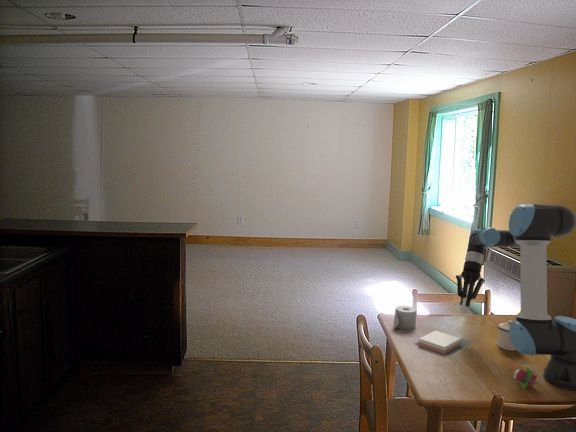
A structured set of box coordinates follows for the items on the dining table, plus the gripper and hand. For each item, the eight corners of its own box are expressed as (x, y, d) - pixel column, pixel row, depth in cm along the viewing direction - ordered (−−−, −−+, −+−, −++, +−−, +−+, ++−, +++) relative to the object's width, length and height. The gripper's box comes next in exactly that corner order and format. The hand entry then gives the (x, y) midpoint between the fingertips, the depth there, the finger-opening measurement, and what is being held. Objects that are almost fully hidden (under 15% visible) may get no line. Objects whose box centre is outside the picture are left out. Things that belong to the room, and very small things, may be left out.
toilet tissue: (390, 330, 229) (391, 312, 228) (398, 321, 241) (399, 304, 240) (410, 334, 225) (411, 316, 224) (417, 325, 237) (418, 308, 235)
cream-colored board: (435, 330, 221) (418, 338, 211) (461, 338, 212) (444, 346, 203) (435, 337, 221) (418, 345, 211) (460, 345, 213) (444, 353, 203)
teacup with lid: (519, 352, 207) (521, 326, 205) (495, 348, 211) (497, 322, 209) (519, 343, 218) (521, 317, 216) (497, 339, 222) (499, 314, 220)
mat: (439, 332, 228) (439, 331, 228) (473, 342, 217) (473, 341, 217) (413, 344, 213) (413, 343, 213) (448, 356, 201) (448, 355, 201)
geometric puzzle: (535, 376, 181) (523, 359, 180) (545, 385, 174) (533, 367, 173) (518, 387, 181) (507, 370, 180) (528, 396, 174) (516, 379, 173)
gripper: (490, 267, 225) (480, 317, 218) (462, 264, 234) (452, 313, 227) (484, 261, 220) (474, 313, 213) (456, 258, 229) (445, 308, 222)
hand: (463, 313), depth 220 cm, fingers closed
